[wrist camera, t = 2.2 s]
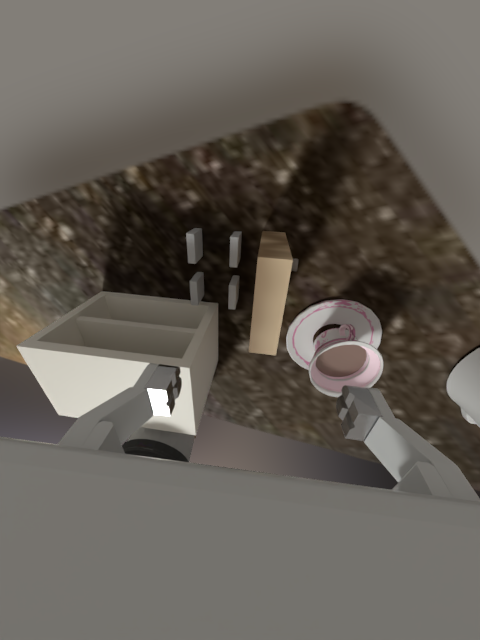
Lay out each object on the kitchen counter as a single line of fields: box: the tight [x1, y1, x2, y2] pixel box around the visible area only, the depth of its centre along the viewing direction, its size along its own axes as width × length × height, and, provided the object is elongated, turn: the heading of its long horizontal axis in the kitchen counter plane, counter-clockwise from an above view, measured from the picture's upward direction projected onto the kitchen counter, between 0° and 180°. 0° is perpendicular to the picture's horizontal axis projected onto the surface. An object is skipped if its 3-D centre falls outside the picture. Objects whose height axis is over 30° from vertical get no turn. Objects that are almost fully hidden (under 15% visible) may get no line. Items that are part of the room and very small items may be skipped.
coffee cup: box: [122, 427, 196, 462], centre depth 31 cm, size 8×8×15 cm
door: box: [249, 231, 298, 355], centre depth 22 cm, size 3×8×10 cm, turn 177°
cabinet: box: [17, 228, 242, 435], centre depth 25 cm, size 19×19×12 cm
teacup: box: [286, 299, 384, 397], centre depth 27 cm, size 12×12×6 cm
